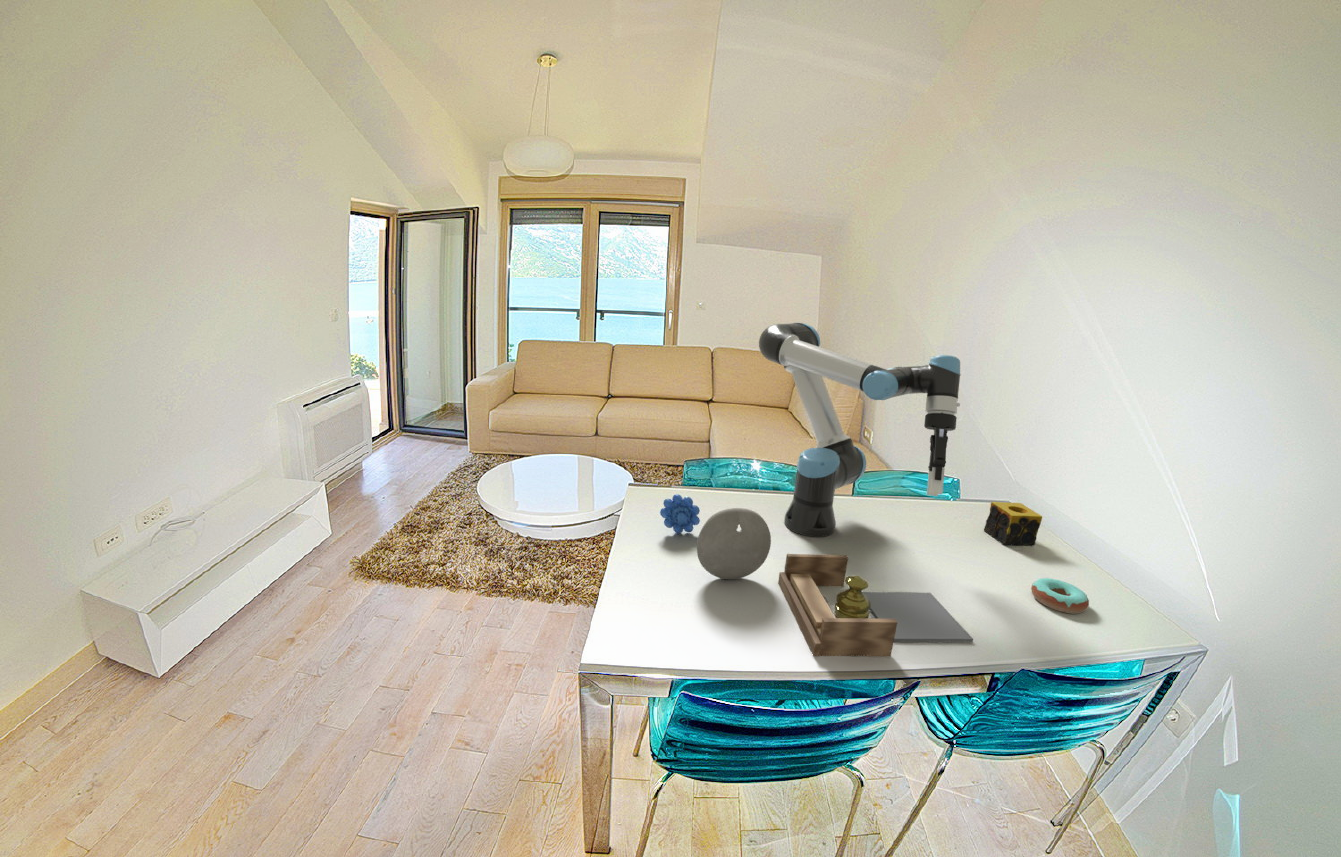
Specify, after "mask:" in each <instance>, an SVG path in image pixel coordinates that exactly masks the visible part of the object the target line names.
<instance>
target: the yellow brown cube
mask: <svg viewBox="0 0 1341 857" xmlns="http://www.w3.org/2000/svg"><path fill="white" fill-rule="evenodd" d="M988 514H989V515H988V516H987V519H986V520H985V524H984V529H983V531H984V532H985V533H986V534H988V535H989V536H991V537H992V539H994V540H996V541H997V542H998V543H1000V544H1001V545H1003V546H1009V547H1010V546H1011V547H1013V546H1014V547H1034V546H1036V545H1035V544H1036V541H1037V535H1038V532H1039V529H1040V527H1041V523H1042V520H1043V515H1041V514H1039V513H1037V512H1036V511H1034V510H1033V509H1031V508H1029V507H1028V506H1026V505H1024V503H1021V502H1003V501H991V502H990V507H989V513H988Z"/></svg>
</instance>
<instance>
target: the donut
mask: <svg viewBox="0 0 1341 857" xmlns="http://www.w3.org/2000/svg"><path fill="white" fill-rule="evenodd" d="M1030 590H1031V594H1032V596H1033V597H1034V598H1035V600H1036V601H1038V602H1039V603H1041V604H1042V605H1043V606H1045V607H1047V608H1049V609H1052V610H1053V611H1058V612H1061V613H1065V614H1081V613H1083V612H1085V611H1086V610H1087V609H1088V607H1089V605H1090V600H1089V598H1088V595H1087V594H1086V593H1085V592H1084V591H1083V590H1081V589H1080V588H1079V587H1077V586H1076V585H1074V584H1071V583H1069V582H1066V581H1063V580H1060V579H1057V578H1050V577H1049V578H1048V577H1046V578H1045V577H1044V578H1038V579H1036V580H1035V581H1033V583H1032V585H1031V587H1030Z"/></svg>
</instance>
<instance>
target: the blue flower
mask: <svg viewBox="0 0 1341 857" xmlns="http://www.w3.org/2000/svg"><path fill="white" fill-rule="evenodd" d="M663 506H664V507H663V508H661V509H660V511H659V514H660V516H661V517H662V518H663V519H664V520H663V525H664V526H665V527H666V528H668V529H671V528H672V530H673V532H674V533H675V534H682V533H683V531H685V532H686V533H692V532H693V530H694V526H698V525H700V522H701V520H700V517H699V516H698V515H700V507H699V506H698V505H696V504H694V501H693V499H692V498H691V496H685V497H682V495H680V494H679V493H678V494H677V493H676V494H673V495H672V497H671V498H665V499H664V500H663Z"/></svg>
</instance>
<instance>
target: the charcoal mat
mask: <svg viewBox="0 0 1341 857" xmlns="http://www.w3.org/2000/svg"><path fill="white" fill-rule="evenodd" d="M862 593H863V594H864V595H865V596H866V597H867V598H868V599H869V600H870V602H871V607H870V609H869V612H870V613H871V614H872V616H873V617H874V619H895V620H896V621H897V627H896V632H895V637H894V642H893V643H898V642H899V643H973V642H974V638H973V637H972V636H971V635H970V634H969V633H968V631H966V630H965V628H964V627H963V626H962V625H961V624H960V623H959V622H958V621H957V619H955V617H954V616H953V615H951V613H950V612H949V611H948V610H947V609H946V608H945V607H944V606H943V605H942V603H941V602H940V601H938V599H937V598H936V597H935V596H934V595H933V594H932V593H931V592H919V591H918V592H917V591H916V592H914V591H913V592H907V591H905V592H903V591H900V592H899V591H895V592H894V591H862Z"/></svg>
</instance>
